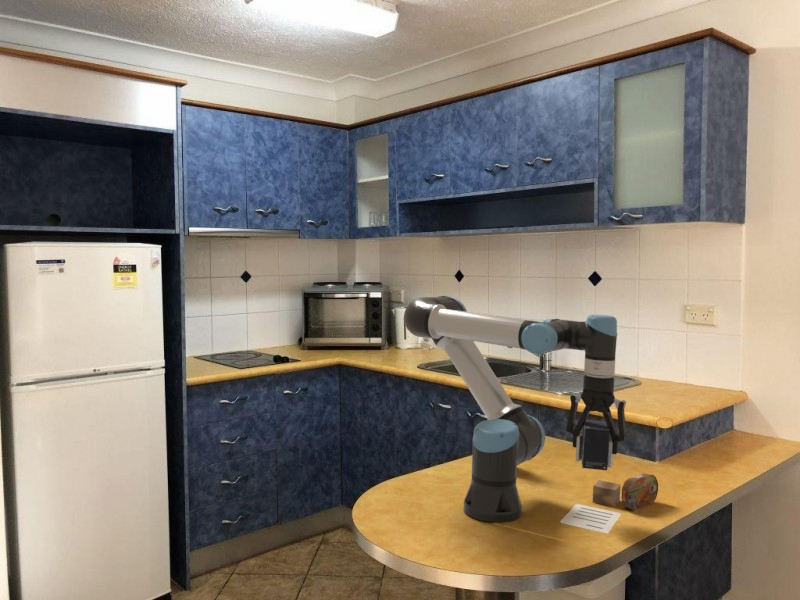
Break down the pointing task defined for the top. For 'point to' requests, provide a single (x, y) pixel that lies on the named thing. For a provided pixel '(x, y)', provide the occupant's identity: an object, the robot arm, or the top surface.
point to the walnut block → (606, 493)
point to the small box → (595, 445)
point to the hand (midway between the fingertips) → (594, 462)
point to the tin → (639, 491)
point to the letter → (591, 518)
